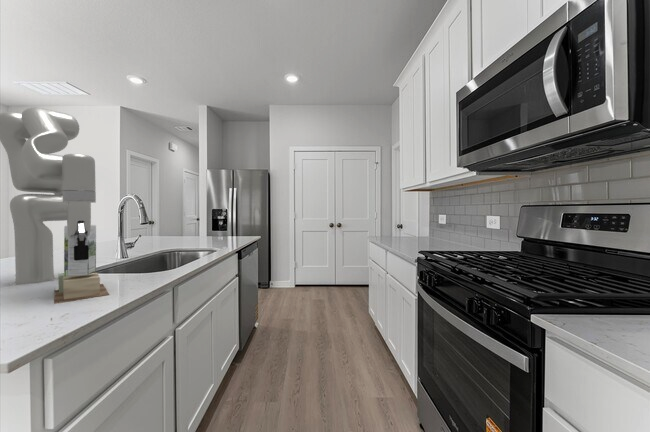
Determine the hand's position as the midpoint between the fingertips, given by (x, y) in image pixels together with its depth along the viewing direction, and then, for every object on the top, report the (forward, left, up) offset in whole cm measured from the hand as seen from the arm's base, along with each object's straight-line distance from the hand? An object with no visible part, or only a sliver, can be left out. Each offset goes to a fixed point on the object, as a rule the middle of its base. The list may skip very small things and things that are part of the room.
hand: (80, 257), depth 88 cm
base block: (0, 0, -11) cm, 11 cm away
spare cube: (-8, -2, -11) cm, 13 cm away
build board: (-2, 0, -12) cm, 12 cm away
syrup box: (0, 0, -5) cm, 5 cm away
